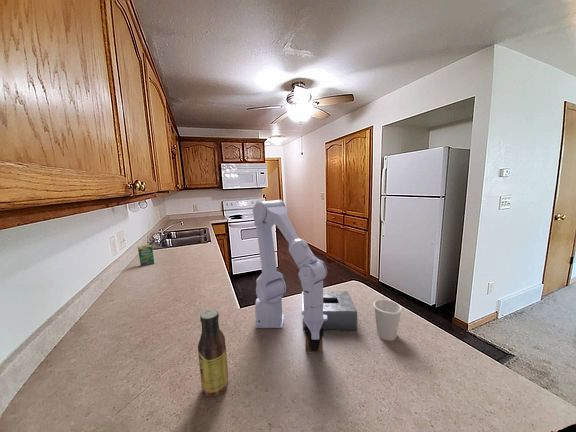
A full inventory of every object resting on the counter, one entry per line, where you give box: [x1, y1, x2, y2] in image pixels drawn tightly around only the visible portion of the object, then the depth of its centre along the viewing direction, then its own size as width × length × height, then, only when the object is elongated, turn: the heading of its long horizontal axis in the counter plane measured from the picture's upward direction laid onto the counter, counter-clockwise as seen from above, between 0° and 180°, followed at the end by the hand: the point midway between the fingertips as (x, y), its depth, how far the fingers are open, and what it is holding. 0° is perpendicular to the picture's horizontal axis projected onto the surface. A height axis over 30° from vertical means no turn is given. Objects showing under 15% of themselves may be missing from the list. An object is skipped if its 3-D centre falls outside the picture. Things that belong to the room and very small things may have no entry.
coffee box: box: [137, 244, 155, 267], centre depth 146 cm, size 8×3×13 cm, turn 125°
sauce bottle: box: [197, 308, 229, 398], centre depth 53 cm, size 6×6×20 cm
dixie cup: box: [373, 299, 403, 342], centre depth 71 cm, size 8×8×10 cm
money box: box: [301, 290, 358, 332], centre depth 81 cm, size 18×14×7 cm
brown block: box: [304, 334, 324, 354], centre depth 65 cm, size 5×2×5 cm, turn 87°
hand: (313, 345), depth 66 cm, fingers open, 3 cm apart
